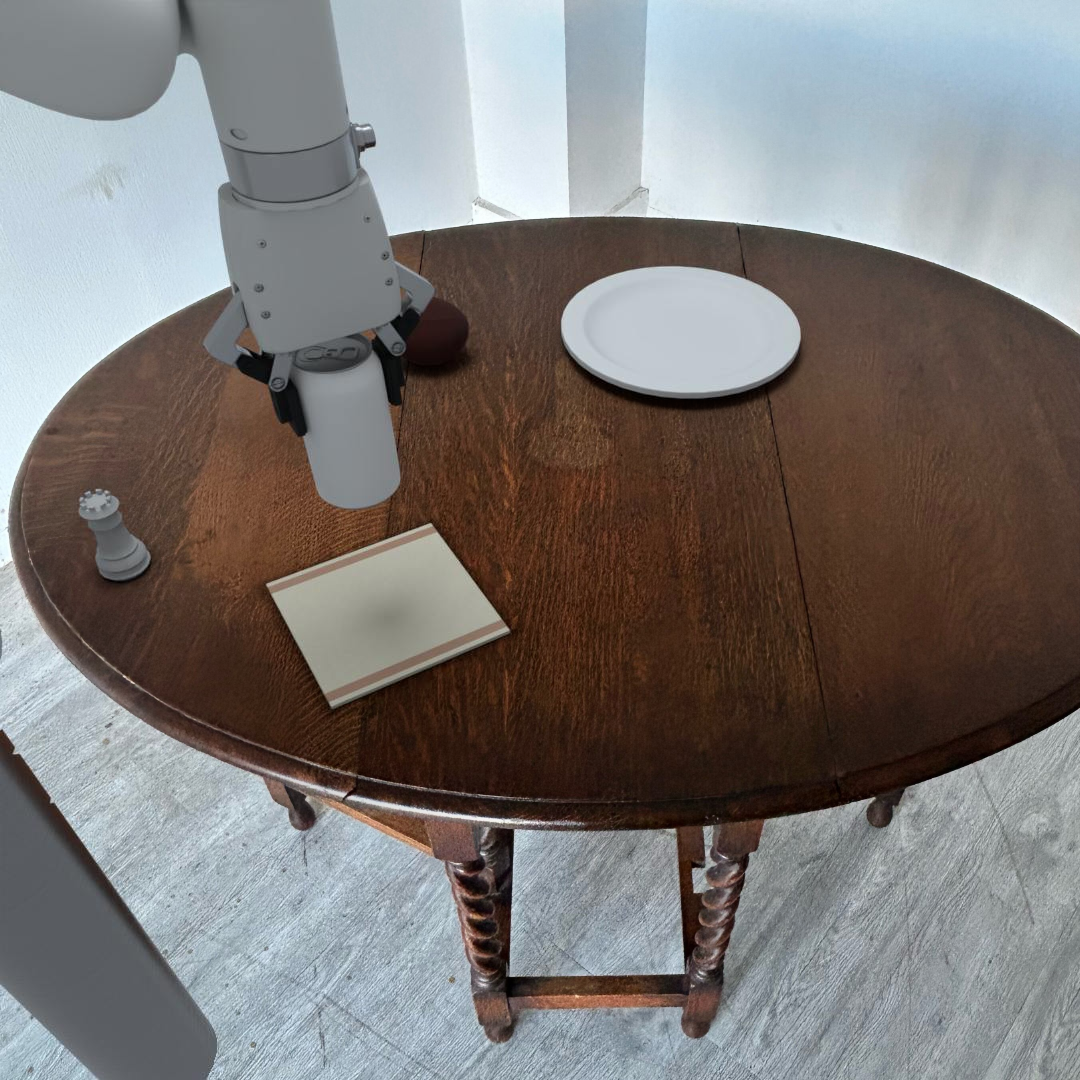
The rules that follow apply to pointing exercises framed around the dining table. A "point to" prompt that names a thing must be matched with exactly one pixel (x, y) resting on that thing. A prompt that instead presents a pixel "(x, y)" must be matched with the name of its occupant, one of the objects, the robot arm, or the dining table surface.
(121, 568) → the rook chess piece
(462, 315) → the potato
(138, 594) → the dining table surface
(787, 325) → the plate
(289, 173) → the robot arm
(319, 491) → the can
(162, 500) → the dining table surface
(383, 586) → the napkin
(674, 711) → the dining table surface
